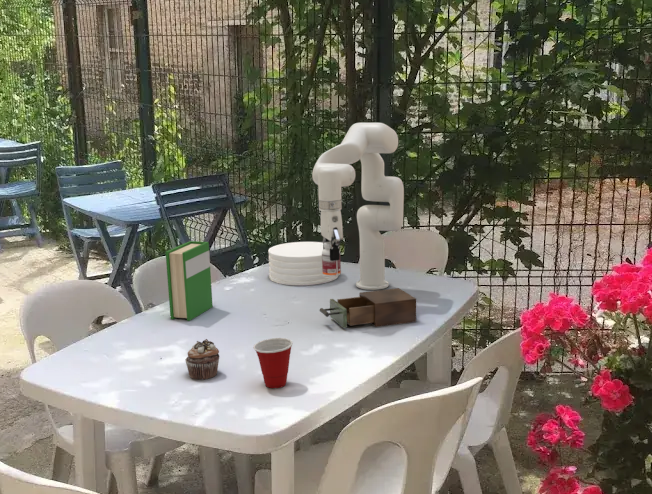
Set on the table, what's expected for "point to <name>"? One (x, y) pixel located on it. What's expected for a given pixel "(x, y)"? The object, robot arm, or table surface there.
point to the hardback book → (189, 280)
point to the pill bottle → (330, 262)
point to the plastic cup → (274, 360)
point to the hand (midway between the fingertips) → (331, 257)
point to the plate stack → (297, 264)
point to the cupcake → (203, 360)
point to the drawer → (351, 311)
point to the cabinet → (391, 306)
